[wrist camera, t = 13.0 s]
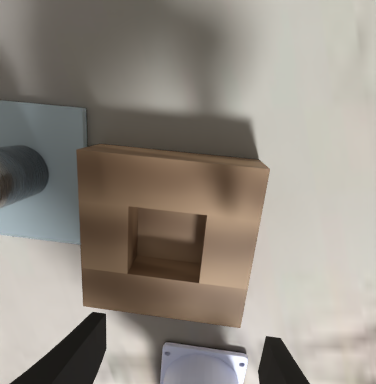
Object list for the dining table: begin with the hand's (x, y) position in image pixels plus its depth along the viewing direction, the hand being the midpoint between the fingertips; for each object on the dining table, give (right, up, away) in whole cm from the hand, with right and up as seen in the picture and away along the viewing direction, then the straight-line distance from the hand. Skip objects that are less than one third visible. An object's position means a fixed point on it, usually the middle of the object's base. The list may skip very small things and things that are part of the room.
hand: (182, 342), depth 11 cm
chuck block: (-1, +4, +9) cm, 10 cm away
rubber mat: (-13, +8, +9) cm, 18 cm away
